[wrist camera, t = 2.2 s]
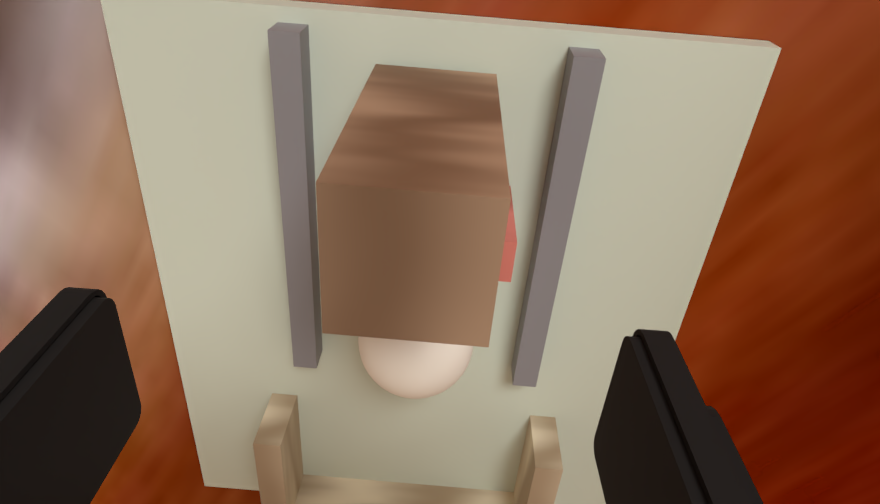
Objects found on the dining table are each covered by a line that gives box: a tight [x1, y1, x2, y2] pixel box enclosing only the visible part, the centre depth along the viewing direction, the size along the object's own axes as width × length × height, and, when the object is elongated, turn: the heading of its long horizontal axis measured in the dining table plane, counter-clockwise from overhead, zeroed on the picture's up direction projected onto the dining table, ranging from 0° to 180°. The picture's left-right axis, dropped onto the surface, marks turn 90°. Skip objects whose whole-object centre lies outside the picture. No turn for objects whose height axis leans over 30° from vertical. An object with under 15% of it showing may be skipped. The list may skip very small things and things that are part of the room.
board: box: [101, 0, 781, 504], centre depth 26 cm, size 22×25×2 cm
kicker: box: [316, 64, 517, 347], centre depth 18 cm, size 6×6×9 cm
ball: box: [358, 336, 473, 399], centre depth 24 cm, size 4×4×4 cm
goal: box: [253, 393, 563, 504], centre depth 29 cm, size 14×7×3 cm, turn 86°
